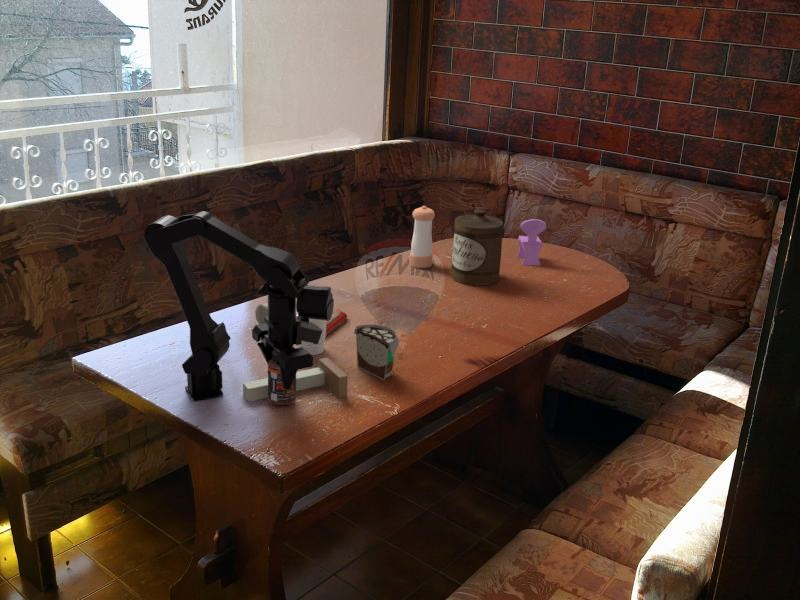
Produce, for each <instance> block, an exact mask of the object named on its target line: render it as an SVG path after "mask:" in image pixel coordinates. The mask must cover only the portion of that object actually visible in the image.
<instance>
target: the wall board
mask: <svg viewBox="0 0 800 600" xmlns="http://www.w3.org/2000/svg"><path fill="white" fill-rule="evenodd" d="M321 386H325V387H327V389H328V390H329V391H331V393H332V394H334V395H335V396H336V397H337V398H338V399H342V398H346V397H348V375H347V374H346V373H345V372H344V371H343V370H342V369H341V368H339V367H338V366H337V365H336V364H335V363H334V362H333V361H331V359H330V358H328V357H324V358H323V357H322V358H319V359H318V367H313V368H307V369H305V370H303V369H302V370H298V371H297V373H296V392H297V391H302V390H307V389H311V388H315V387H321ZM242 393H243V394H242V396H243V397H244V398H245V399H246V400H247V402H252V401H256V400H262V399H266V398H267V399H268V377H266V378H261V379H256V380H251V381H248V382H243V383H242Z"/></svg>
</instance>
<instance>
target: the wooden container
mask: <svg viewBox="0 0 800 600" xmlns="http://www.w3.org/2000/svg"><path fill="white" fill-rule="evenodd" d="M503 231H504V221H503V220H502V219H500V218H498V217H496V216H493V215H486V210H485V209H484V208H483V207H477V208H476V209H474V211H473V214H465V215H464V214H463V215H459V216H457V217H456V218H454V233H453V242H452V243H453V245H452V256H451V269H450V270H451V271H450V277H451V278H452V279H453V280H454V281H456V282H458V283H461V284H464V285H469V286H490V285H493V284H495V283H497V282H498V281H499V279H500V270H501V260H502V245H503V244H502V243H503Z"/></svg>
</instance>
